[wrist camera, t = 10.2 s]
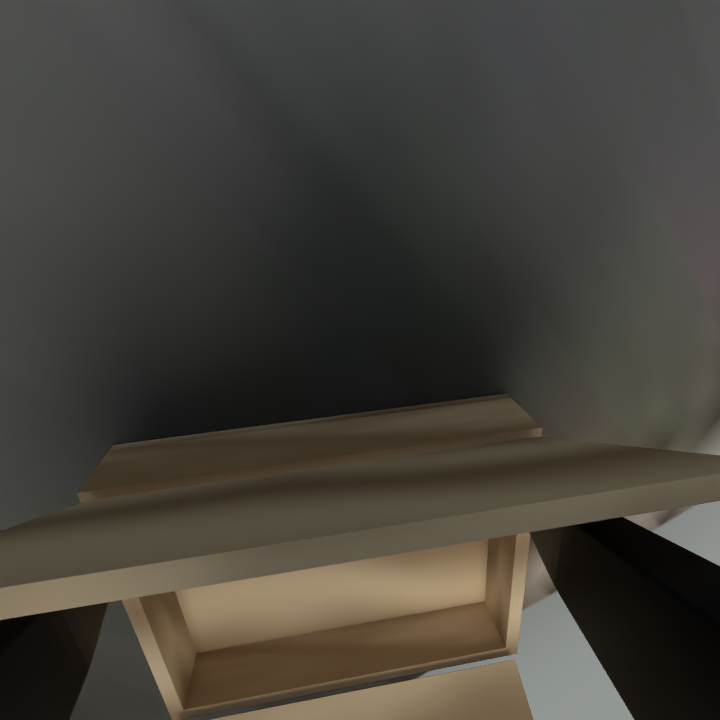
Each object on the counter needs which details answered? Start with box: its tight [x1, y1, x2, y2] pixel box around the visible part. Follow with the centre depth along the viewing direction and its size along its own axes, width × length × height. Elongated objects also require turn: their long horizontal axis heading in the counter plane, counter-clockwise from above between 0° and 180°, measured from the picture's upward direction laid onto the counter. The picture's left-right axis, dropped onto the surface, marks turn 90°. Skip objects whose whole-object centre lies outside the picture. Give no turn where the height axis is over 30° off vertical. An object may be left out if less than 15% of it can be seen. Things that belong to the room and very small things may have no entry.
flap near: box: [0, 437, 720, 620], centre depth 10 cm, size 8×15×1 cm
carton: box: [77, 393, 542, 720], centre depth 18 cm, size 13×16×3 cm
